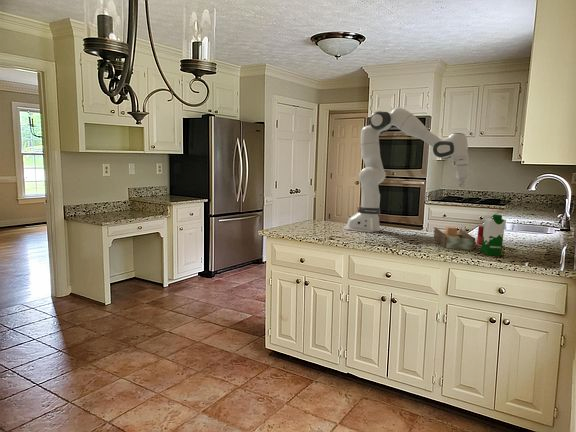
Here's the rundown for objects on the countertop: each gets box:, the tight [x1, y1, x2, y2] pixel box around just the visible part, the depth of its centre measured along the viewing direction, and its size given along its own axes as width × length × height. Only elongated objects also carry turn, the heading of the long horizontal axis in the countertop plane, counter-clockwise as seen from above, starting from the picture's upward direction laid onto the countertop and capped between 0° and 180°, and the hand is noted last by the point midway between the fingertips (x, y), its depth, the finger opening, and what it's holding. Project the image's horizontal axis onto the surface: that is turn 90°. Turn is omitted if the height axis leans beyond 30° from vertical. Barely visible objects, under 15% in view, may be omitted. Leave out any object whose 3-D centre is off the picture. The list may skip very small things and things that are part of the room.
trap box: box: [433, 226, 476, 251], centre depth 239 cm, size 15×28×6 cm, turn 172°
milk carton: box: [480, 214, 507, 257], centre depth 216 cm, size 9×9×20 cm
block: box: [445, 225, 458, 235], centre depth 244 cm, size 5×5×4 cm
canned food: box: [476, 223, 484, 246], centre depth 239 cm, size 8×8×11 cm
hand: (461, 186), depth 243 cm, fingers open, 8 cm apart
